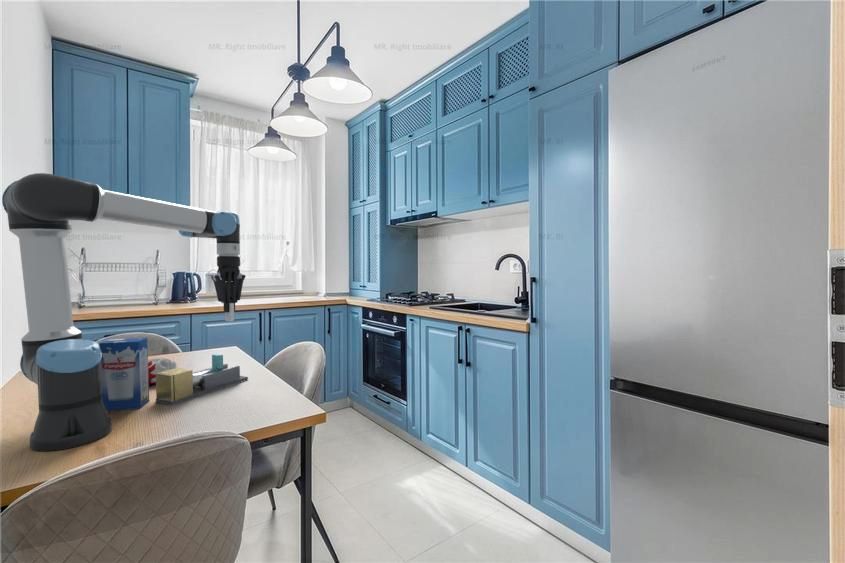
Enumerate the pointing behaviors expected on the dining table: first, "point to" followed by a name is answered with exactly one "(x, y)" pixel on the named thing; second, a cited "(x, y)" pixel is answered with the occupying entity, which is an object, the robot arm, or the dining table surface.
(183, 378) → the guide
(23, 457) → the dining table surface
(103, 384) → the milk carton
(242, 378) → the mat
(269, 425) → the dining table surface
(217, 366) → the bolt
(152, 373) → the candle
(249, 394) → the dining table surface
